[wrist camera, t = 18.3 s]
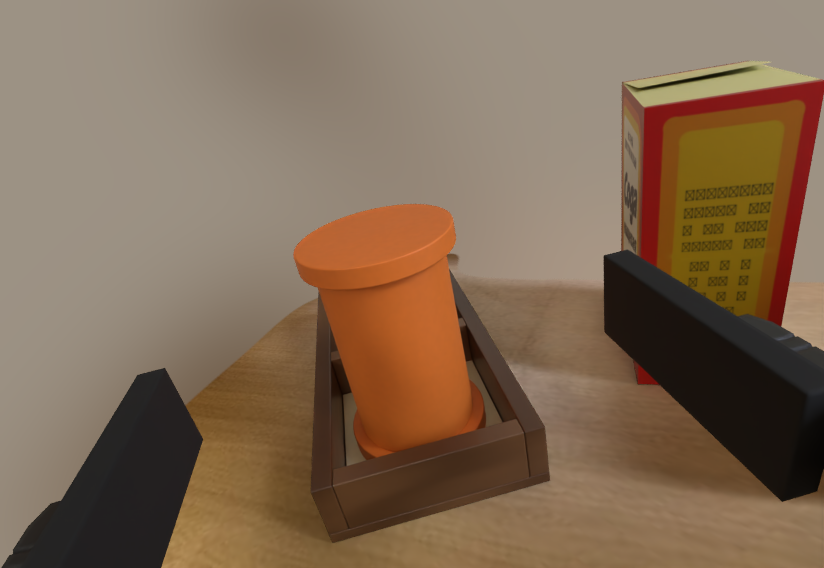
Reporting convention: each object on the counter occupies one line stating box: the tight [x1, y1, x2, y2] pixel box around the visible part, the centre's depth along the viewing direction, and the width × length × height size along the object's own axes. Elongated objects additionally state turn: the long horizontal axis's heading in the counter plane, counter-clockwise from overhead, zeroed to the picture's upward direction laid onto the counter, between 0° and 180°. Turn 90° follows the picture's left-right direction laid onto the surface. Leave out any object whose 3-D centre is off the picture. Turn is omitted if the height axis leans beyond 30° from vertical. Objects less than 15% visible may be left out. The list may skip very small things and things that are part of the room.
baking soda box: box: [621, 61, 824, 384], centre depth 27 cm, size 10×6×16 cm
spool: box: [294, 204, 486, 460], centre depth 25 cm, size 8×8×12 cm
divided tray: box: [311, 269, 550, 543], centre depth 31 cm, size 11×21×4 cm, turn 10°
